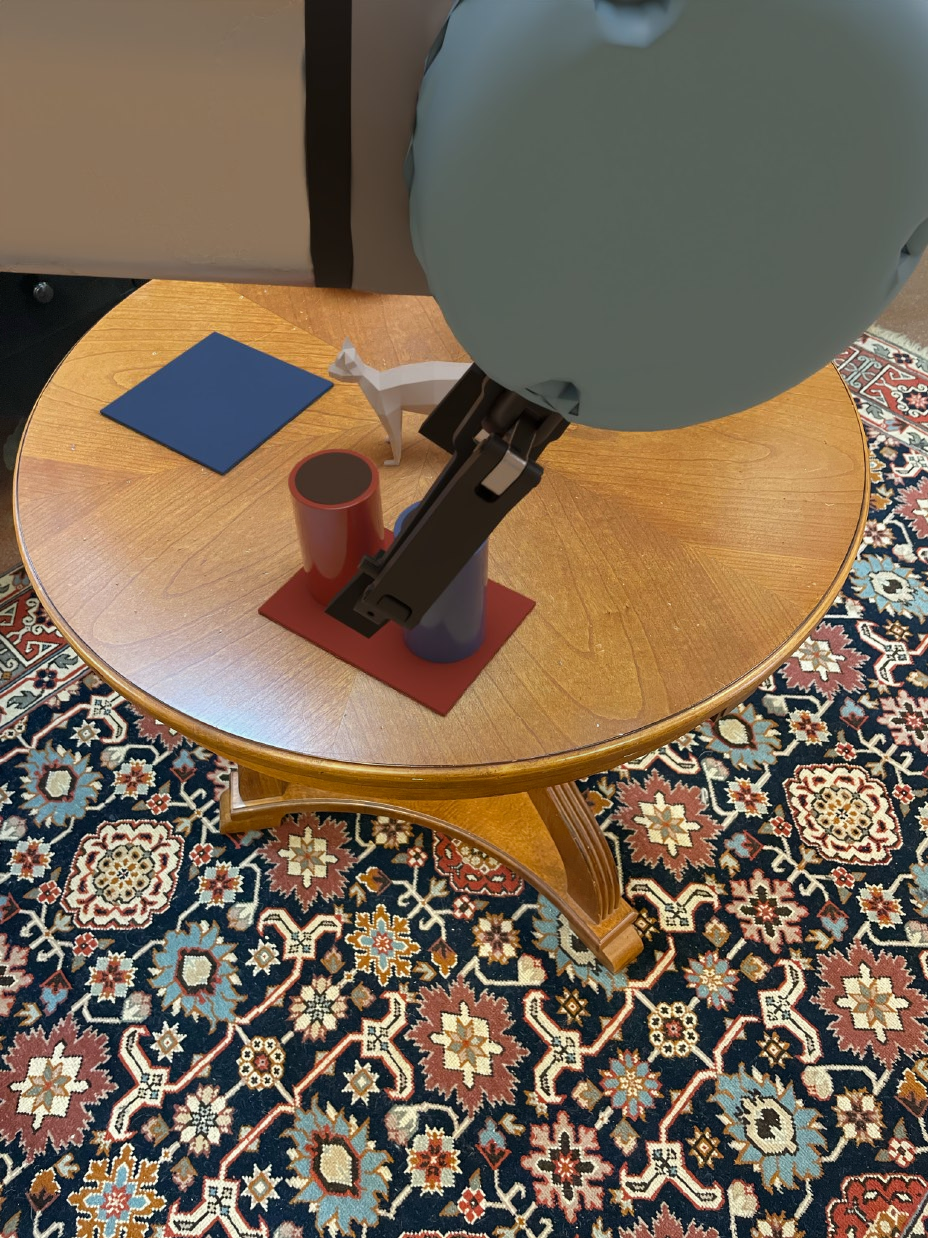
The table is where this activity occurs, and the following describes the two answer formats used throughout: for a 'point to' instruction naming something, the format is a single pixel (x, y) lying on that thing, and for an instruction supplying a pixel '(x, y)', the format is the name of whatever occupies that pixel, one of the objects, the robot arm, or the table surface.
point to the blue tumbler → (452, 611)
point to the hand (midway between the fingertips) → (396, 524)
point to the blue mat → (217, 401)
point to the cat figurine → (399, 389)
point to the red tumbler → (335, 517)
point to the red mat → (398, 641)
